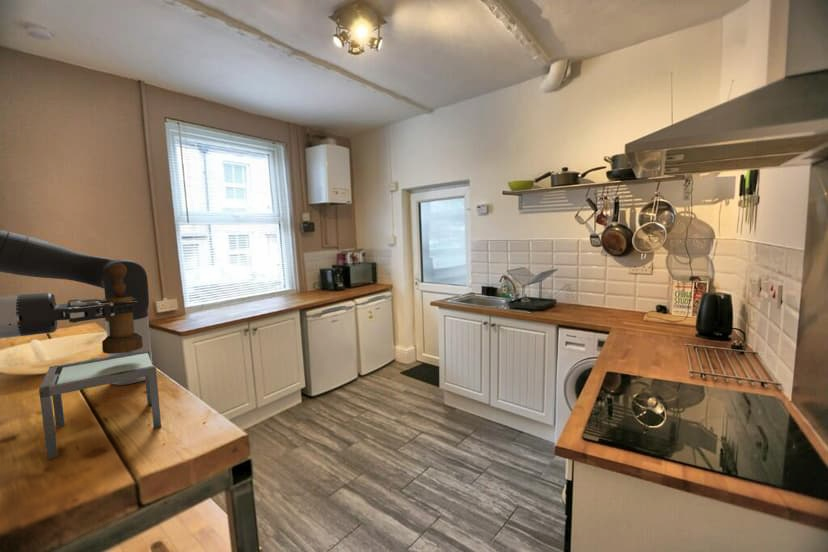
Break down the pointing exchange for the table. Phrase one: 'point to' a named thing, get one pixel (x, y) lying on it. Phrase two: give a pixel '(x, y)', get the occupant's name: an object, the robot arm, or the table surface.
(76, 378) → the trapdoor
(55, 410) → the frame
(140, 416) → the table surface
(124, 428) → the table surface
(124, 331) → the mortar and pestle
